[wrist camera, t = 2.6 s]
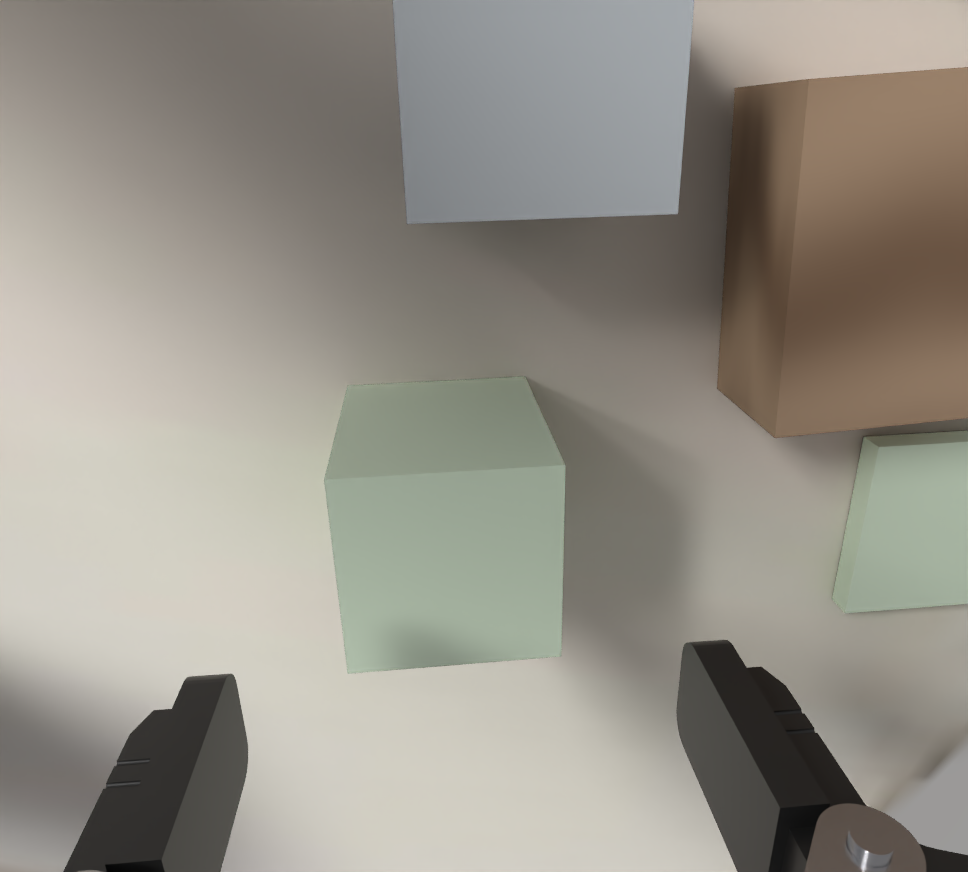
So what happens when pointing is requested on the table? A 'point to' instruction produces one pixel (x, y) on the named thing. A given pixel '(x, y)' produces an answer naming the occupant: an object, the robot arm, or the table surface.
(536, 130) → the slate cube
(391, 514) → the sage cube
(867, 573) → the sage tile
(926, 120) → the walnut block
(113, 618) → the table surface
